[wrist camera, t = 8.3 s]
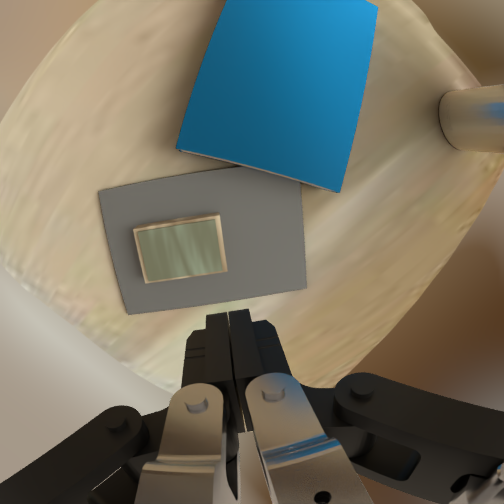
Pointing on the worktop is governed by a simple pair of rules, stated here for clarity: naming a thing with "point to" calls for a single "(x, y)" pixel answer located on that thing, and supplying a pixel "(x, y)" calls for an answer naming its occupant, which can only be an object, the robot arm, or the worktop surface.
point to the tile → (181, 248)
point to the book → (283, 87)
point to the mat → (233, 231)
